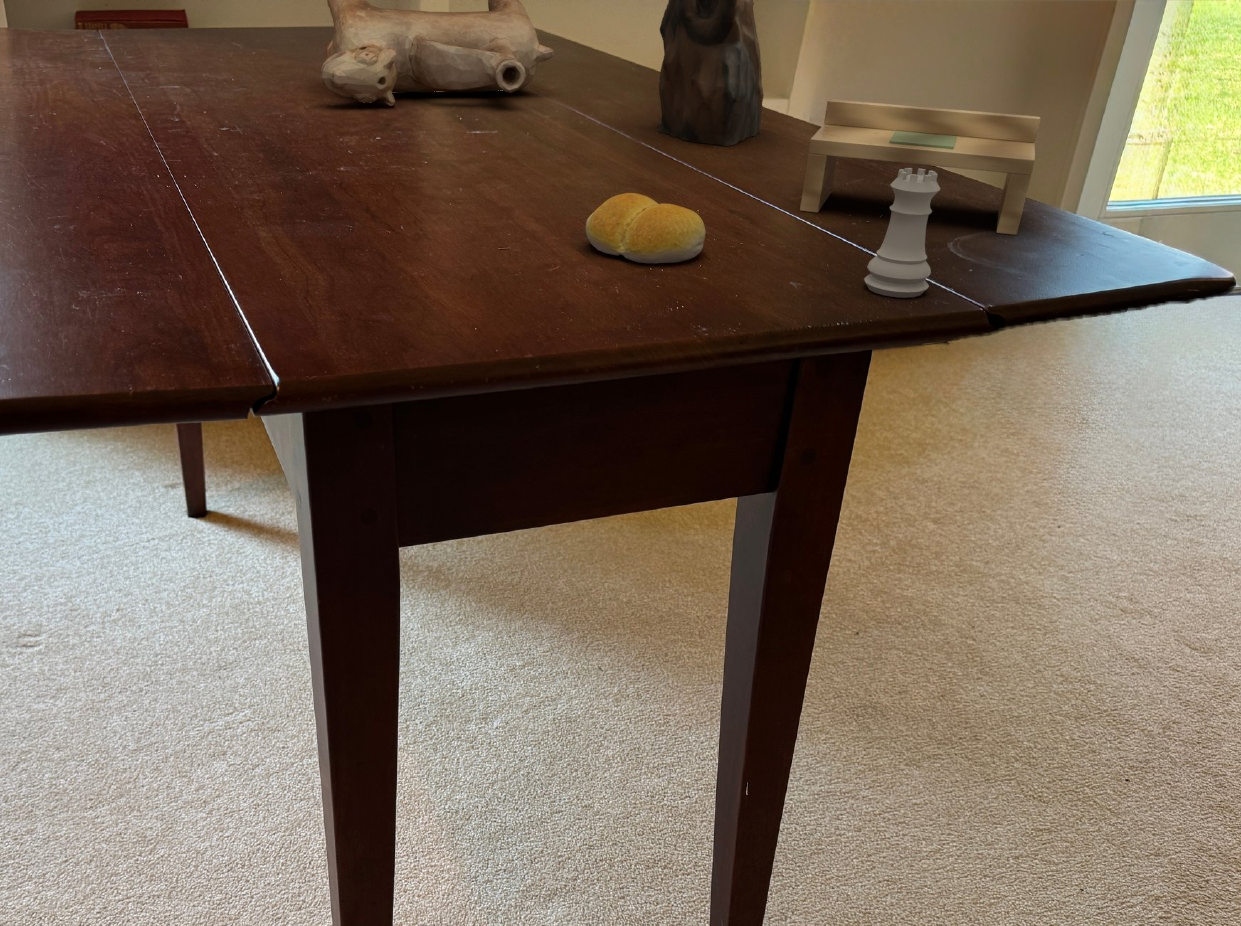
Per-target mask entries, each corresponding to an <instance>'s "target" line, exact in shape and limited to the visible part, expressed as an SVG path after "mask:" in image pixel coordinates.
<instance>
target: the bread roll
mask: <svg viewBox="0 0 1241 926" xmlns="http://www.w3.org/2000/svg"><path fill="white" fill-rule="evenodd" d="M706 231H707V230H706V227H705V223H704V221H703V219H702V218H701V217H700V215H699V214H698V213H697V212H695V211H694V210H692V209H689V208H686V207H683V206H681V205H677V204H672V203H658V202H657V201H655V200H654V199H653V198H651V197H649V196H647V195H644V194H640V193H636V192H626V193H620V194H617V195H614V196H612V197H610V198H608V199H606V200H605V201H604V202H603V203H601V205H600V206H599V207H598V208H596V209H595V210H594V212H592V214H590V215H589V216H588V217H587V219H586V223H585V234H586V237H587V240H588V241H589V242H590V244H591V245H592V247H594V248H595V249H596V250H597V251H599V252H601V253H603V254H604V253H605V254H608V255H612V256H623V257H624V258H625V259H627V260H630V261H633V262H635V263H641V264H674V263H681V262H685V261H689V260H691V259H695V257H697V256H698V255H699V254H701V252H702V251H703V248H704V242H705V239H706V233H707V232H706Z"/></svg>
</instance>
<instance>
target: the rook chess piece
mask: <svg viewBox="0 0 1241 926" xmlns="http://www.w3.org/2000/svg"><path fill="white" fill-rule="evenodd" d="M926 171H927V169H926V168H918V169H917V173H916V174H915V173H913V168H912V167H905V168H904V169H902V168H900V169H898V173H897V177H896V178H895V179H894V180H893V181H892V182H891V183H890V184H889V185H890V187H891V189H892V192H893V194H894V200H893V204H891V205H890V206H889V211H891V213H890V218H889V223H888V226H887V230H886V232H885V236H884V238H883V242H882V244H881V246H880V248H879V249H878V250H876V256H874V257H873V258H872V259H871V260H869V262H868V264H867V266H866V267H867V269H868V272H869V274H868V275H866V276H865V277H864V278H863V281H864V282H865V285H866V286H867V289H868V290H869V291H871V292H872V293H875V294H878V295H881V296H884V297H885V296H886V297H892V298H903V299H906V298H907V299H908V298H916V297H920V296H922V295H923V293H925V291H927V290H928V288H929V287H930V285H929V283H928V282H927V281H926V279H928V278H929V277H930V276H931V274H932V272H931V271H932V270H931V267H930V265H929V264H928V262H927V259H928V255H927V253H926V246H925V245H926V233H927V224H928V219H929V215H931V214H932V213H933V210H932V208H931V202H932V199H933V198H934V197H935V196H936V195H937V194H938V192H940V191H941V187H940V185H939V183H938V181H937V179H938V173H937V171H935V170H928V173H927V174H926Z"/></svg>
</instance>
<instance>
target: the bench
mask: <svg viewBox="0 0 1241 926" xmlns="http://www.w3.org/2000/svg"><path fill="white" fill-rule="evenodd" d="M1040 122H1041V116H1035V115H1025V114H1012V113H1011V114H1009V113H1001V112H1000V113H998V112H988V111H975V110H974V111H973V110H965V109H964V110H962V109H950V108H939V107H926V106H917V105H915V106H914V105H903V104H890V103H880V102H867V101H855V100H843V99H832V98H831V99H828V100H827V102H826V108H825V115H824V122H823V124H822V126H821V127H820V128H819V129H818V130H817V131H816V132H815V134H813V136H812V137H811V138H810V139H809V146H808V151H807V152H808V154H807V159H806V167H805V172H804V173H805V174H804V178H803V179H804V180H803V185H802V193H801V201H800V207H799V211H800V212H806V213H816V214H818V213H819V212H820V211H821V209H822V207H823V206H824V204H825V203H826V201H827V200H828V199H829V197H830V195H831V194H832V193H833V189H834V183H835V175H836V171H837V170H836V169H837V163H838V159H839V158H838V157H841V158H849V159H859V160H870V161H871V160H872V161H880V162H881V161H882V162H889V163H890V162H891V163H900V164H901V163H902V164H913V165H921V166H932V167H942V168H952V169H953V168H954V169H964V170H972V171H973V170H975V171H982V172H983V171H984V172H995V173H1004V174H1005V173H1006V176H1005V180H1004V184H1003V189H1002V192H1001V197H1000V201H999V206H998V212H997V222H996V234H1004V235H1014V236H1017V235H1018V231H1019V228H1020V227H1019V226H1020V222H1021V219H1022V215H1023V211H1024V206H1025V203H1026V198H1027V194H1028V191H1029V186H1030V184H1031V183H1030V182H1031V179H1032V174H1033V171H1034V165H1035V162H1036V150H1035V149H1036V148H1035V143H1036V139H1037V134H1038V131H1039V127H1040Z"/></svg>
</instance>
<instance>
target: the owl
mask: <svg viewBox="0 0 1241 926" xmlns="http://www.w3.org/2000/svg"><path fill="white" fill-rule="evenodd" d="M754 5H755V2H754V0H668V2H667V4H666V8H665V10H664V13H663V16H662V19H661V23H660V26H659V33H660V36H661V39H662V44H663V52H664V55H663V60H662V63H661V67H660V73H659V77H658V78H659V80H658V81H659V82H658V95H659V101H660V111H661V121H660V124H659V126H658V128H657V129H656V131H657V132H658V133H662V134H666V135H667V134H668V136H669V137H673V138H678V139H681V141H685V142H692V143H698V144H708V145H709V144H710V145H715V146H717V145H718V146H722V147H729V146H735V145H736V144H738V143H739V142H744V141H745V140H747V139H748V138H753V137H755V136H757V134H759V133H760V132H761V124H762V118H763V109H764V108H763V107H764V106H763V101H764V96H765V95H764V89H763V81H762V79H763V77H762V62H761V61H762V60H761V48H760V43H759V42H760V41H759V37H758V32H757V25H756V21H755V15H754ZM752 136H753V137H752Z"/></svg>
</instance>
